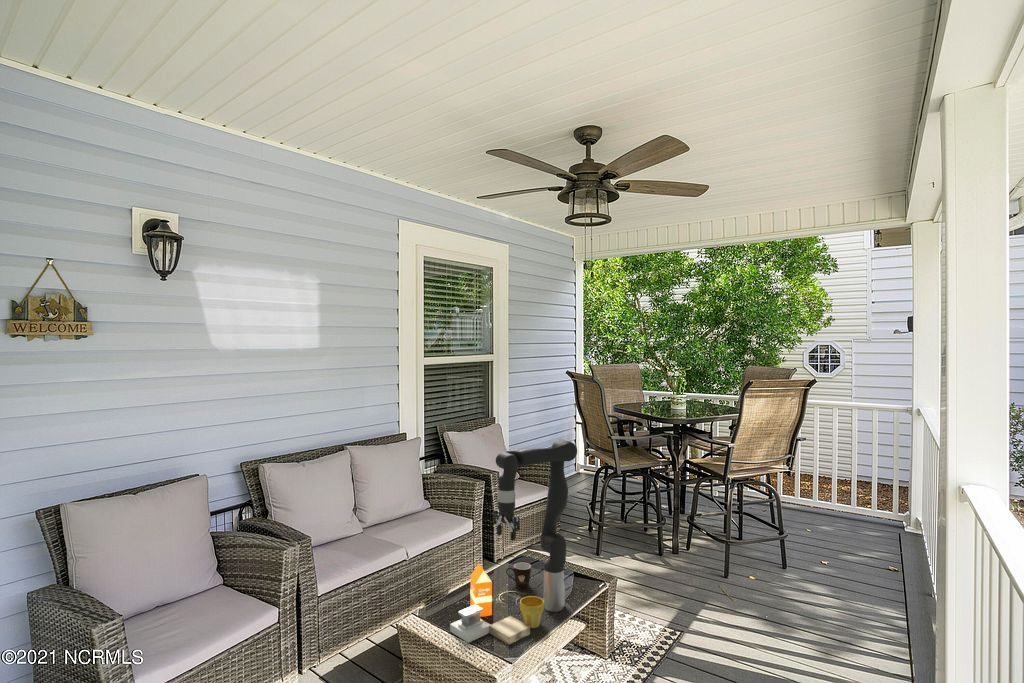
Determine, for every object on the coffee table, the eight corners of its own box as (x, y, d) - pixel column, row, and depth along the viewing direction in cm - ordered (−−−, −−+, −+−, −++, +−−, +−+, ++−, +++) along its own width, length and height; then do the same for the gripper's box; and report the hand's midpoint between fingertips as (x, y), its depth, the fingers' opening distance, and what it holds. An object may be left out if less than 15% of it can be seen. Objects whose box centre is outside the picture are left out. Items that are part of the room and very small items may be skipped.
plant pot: (529, 615, 236) (529, 593, 236) (548, 623, 229) (549, 600, 229) (514, 625, 228) (514, 601, 228) (534, 633, 221) (534, 609, 221)
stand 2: (510, 622, 229) (510, 615, 229) (530, 633, 221) (530, 626, 221) (489, 633, 221) (489, 625, 221) (508, 644, 212) (509, 637, 212)
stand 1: (472, 621, 231) (472, 614, 231) (490, 632, 222) (490, 624, 222) (450, 631, 222) (450, 623, 222) (468, 642, 214) (468, 635, 214)
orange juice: (486, 605, 244) (487, 561, 245) (492, 615, 236) (492, 569, 236) (469, 608, 242) (470, 563, 242) (474, 617, 233) (475, 571, 234)
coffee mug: (534, 585, 266) (534, 565, 266) (525, 591, 259) (525, 571, 259) (514, 579, 272) (514, 559, 272) (505, 586, 265) (505, 565, 265)
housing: (475, 618, 227) (475, 604, 227) (482, 622, 223) (483, 608, 223) (458, 625, 221) (458, 611, 221) (465, 630, 217) (466, 615, 217)
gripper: (524, 501, 228) (524, 539, 228) (501, 494, 238) (501, 531, 238) (511, 505, 223) (511, 544, 223) (488, 497, 233) (488, 535, 233)
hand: (506, 537), depth 231 cm, fingers open, 8 cm apart
